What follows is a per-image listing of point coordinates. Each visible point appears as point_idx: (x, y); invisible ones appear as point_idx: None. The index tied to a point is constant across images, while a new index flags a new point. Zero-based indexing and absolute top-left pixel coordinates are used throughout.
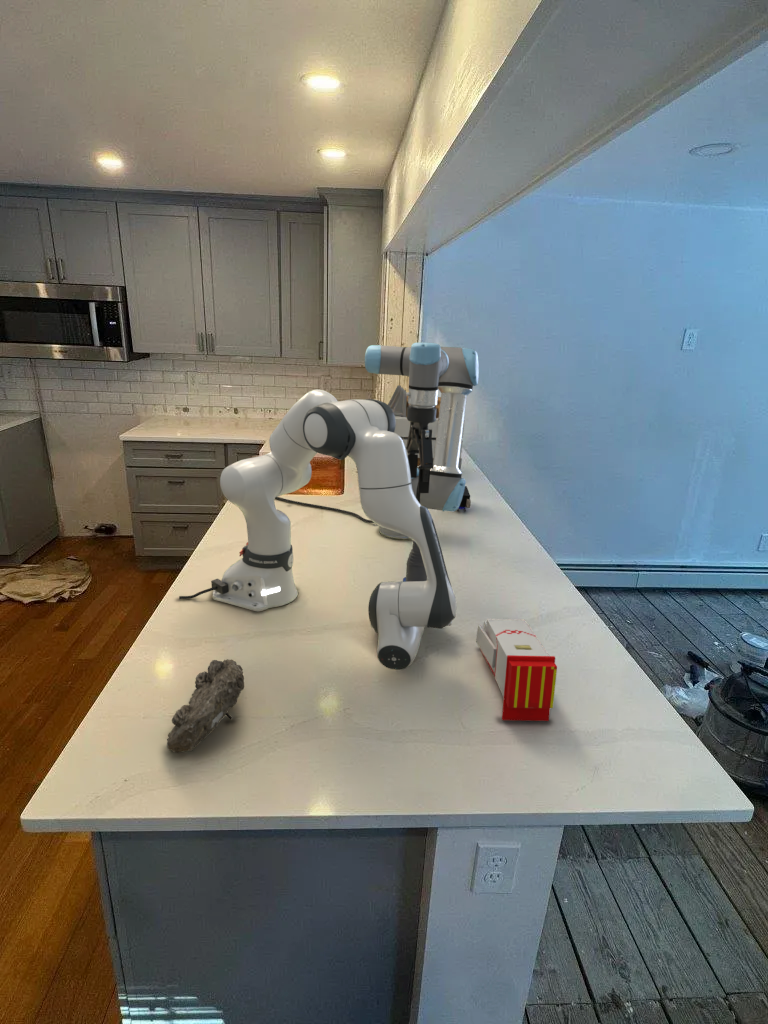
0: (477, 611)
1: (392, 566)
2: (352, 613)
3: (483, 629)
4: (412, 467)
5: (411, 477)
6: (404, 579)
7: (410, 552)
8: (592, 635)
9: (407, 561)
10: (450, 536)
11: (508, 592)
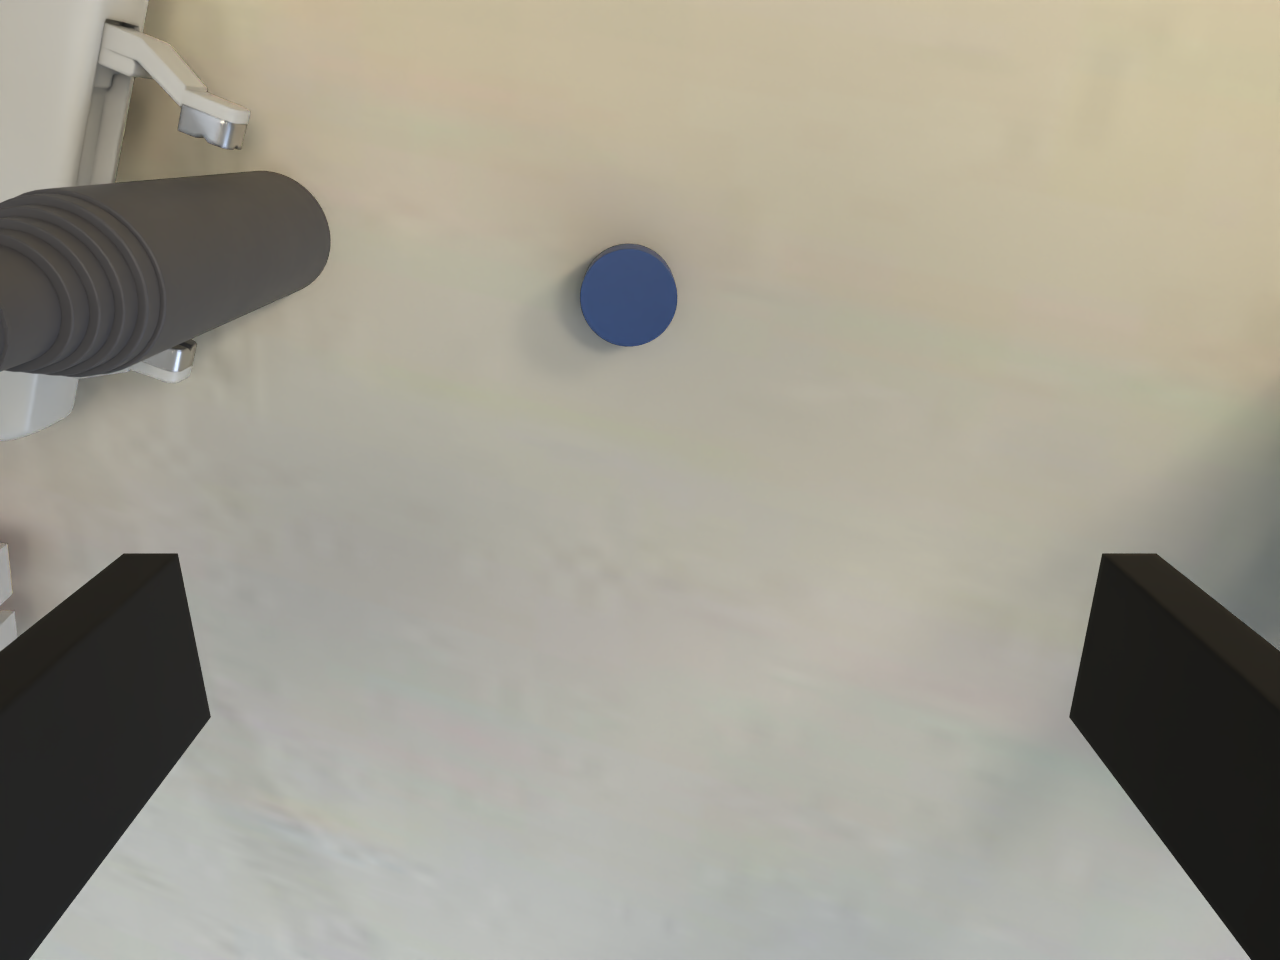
0: (328, 579)
1: (927, 235)
2: None
3: (5, 544)
4: (1206, 774)
5: (1088, 634)
6: (636, 259)
7: (31, 228)
8: (144, 942)
9: (58, 194)
10: None
11: (521, 774)
